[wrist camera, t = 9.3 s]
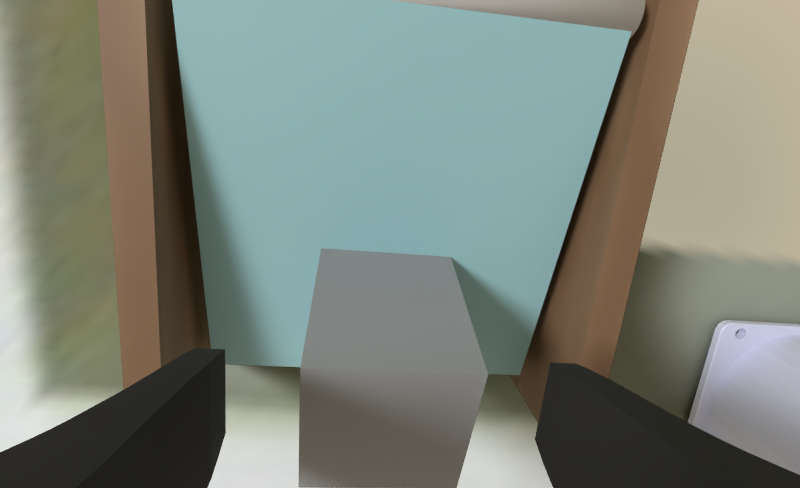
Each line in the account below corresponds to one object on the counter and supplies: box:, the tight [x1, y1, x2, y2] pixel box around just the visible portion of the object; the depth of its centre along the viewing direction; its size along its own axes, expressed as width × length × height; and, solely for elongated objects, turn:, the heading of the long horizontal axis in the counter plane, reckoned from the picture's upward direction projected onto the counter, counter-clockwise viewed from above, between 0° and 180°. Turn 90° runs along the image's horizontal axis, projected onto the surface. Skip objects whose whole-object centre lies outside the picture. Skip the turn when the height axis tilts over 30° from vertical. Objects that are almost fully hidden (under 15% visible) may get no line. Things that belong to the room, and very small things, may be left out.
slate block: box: [299, 248, 488, 488], centre depth 13 cm, size 4×4×5 cm
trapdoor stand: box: [97, 0, 699, 422], centre depth 15 cm, size 14×14×6 cm
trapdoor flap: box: [172, 0, 645, 375], centre depth 14 cm, size 11×17×4 cm, turn 175°
